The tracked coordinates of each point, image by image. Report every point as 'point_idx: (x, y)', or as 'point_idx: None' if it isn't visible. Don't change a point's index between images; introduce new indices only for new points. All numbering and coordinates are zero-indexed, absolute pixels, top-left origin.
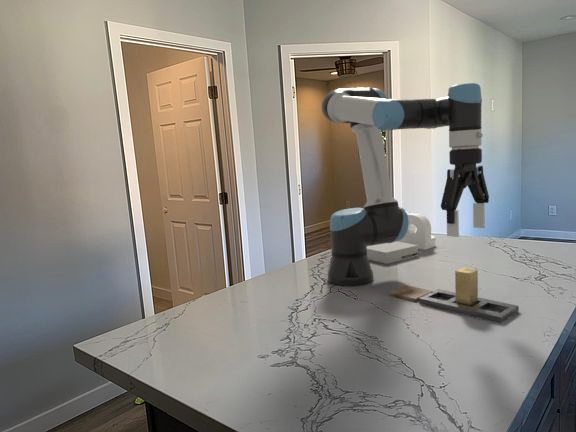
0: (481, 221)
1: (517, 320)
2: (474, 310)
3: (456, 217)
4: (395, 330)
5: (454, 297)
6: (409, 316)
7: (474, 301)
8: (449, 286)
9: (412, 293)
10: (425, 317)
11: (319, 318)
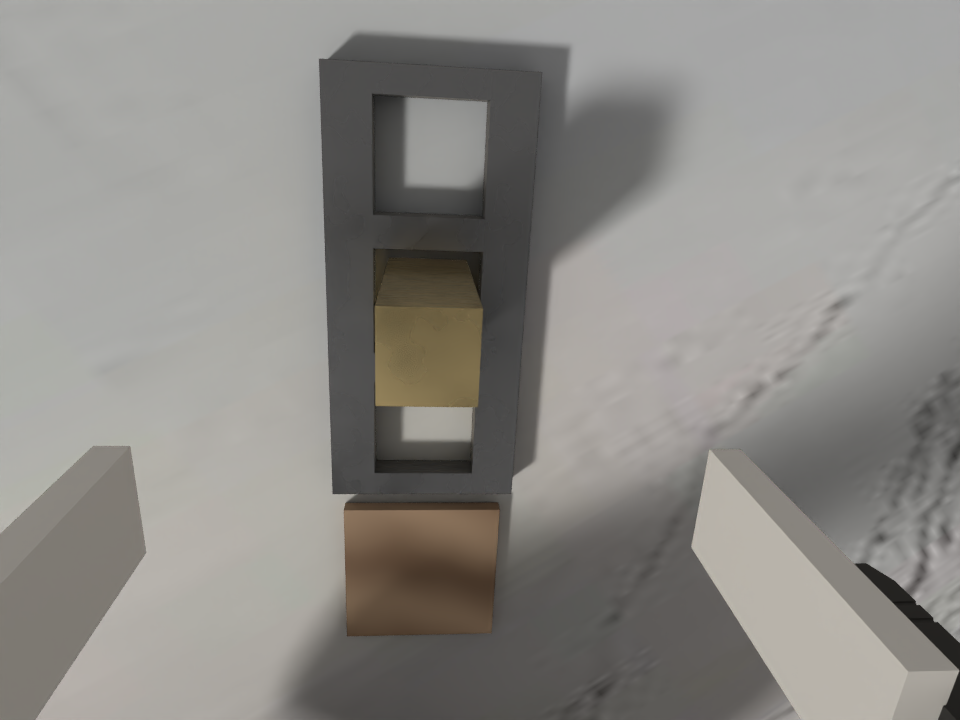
0: (92, 512)
1: (450, 21)
2: (523, 219)
3: (879, 593)
4: (831, 394)
5: None
6: (671, 431)
7: (424, 265)
8: (190, 498)
9: (438, 557)
10: (647, 377)
11: None
